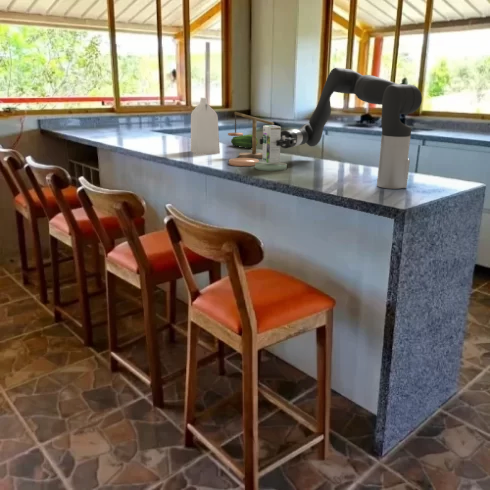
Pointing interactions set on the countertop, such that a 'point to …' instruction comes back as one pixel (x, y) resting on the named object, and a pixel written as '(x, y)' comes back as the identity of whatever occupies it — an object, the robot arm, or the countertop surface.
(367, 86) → the robot arm
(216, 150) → the milk
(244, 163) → the terracotta dish
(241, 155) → the balance
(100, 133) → the countertop surface
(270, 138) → the syrup box
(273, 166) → the sage dish
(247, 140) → the vegetable
